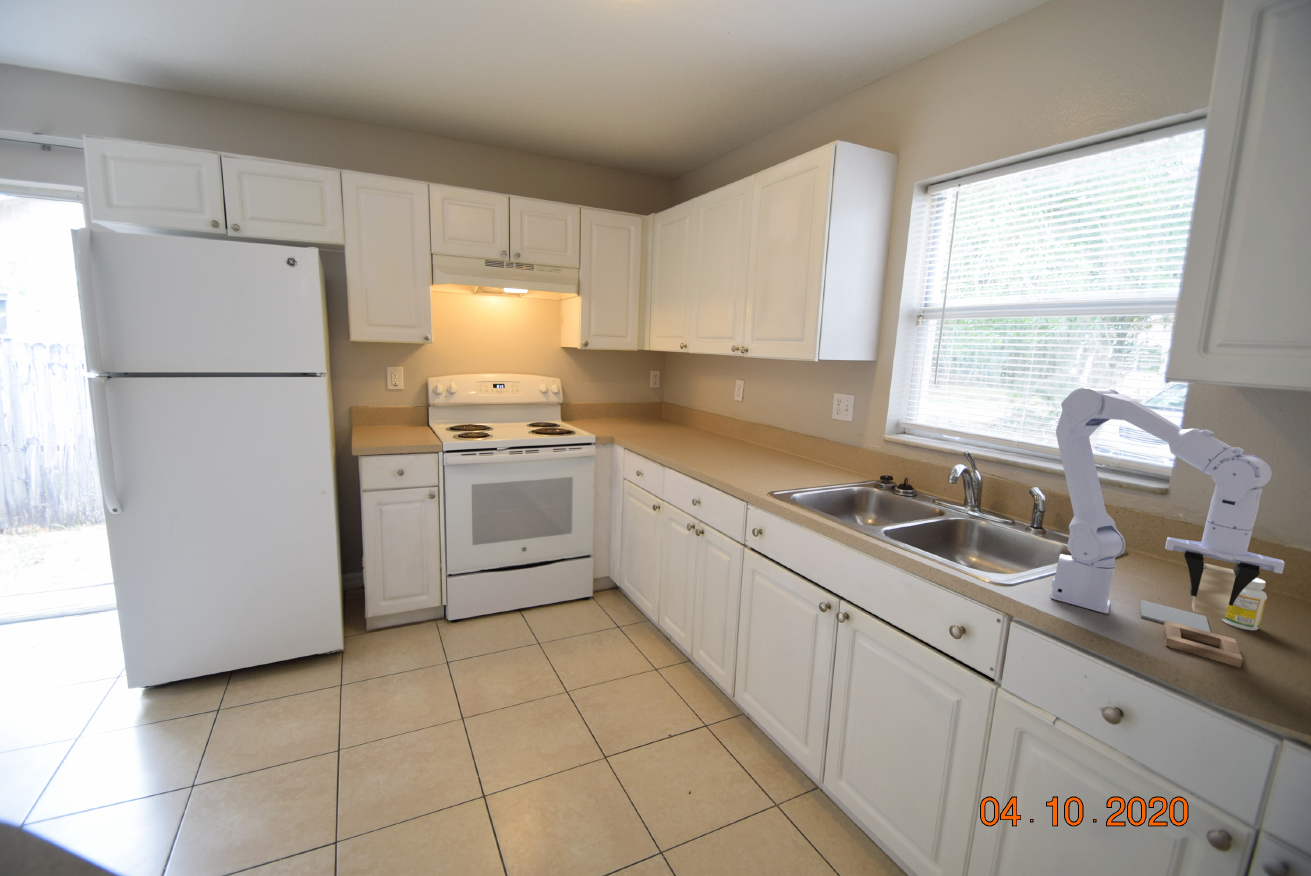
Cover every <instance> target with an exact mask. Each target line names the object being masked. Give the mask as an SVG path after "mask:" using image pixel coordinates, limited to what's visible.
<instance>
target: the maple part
mask: <svg viewBox="0 0 1311 876" xmlns="http://www.w3.org/2000/svg"><path fill="white" fill-rule="evenodd" d="M1235 577H1236V575H1235V573H1234V568H1232V569H1231V568H1228V567H1223V566H1219V565H1215V564H1214V565H1213V564H1210V563H1209V564H1208V563H1204V566H1203V569H1202V572H1201V575H1200V579H1199V585H1198V592H1197V595H1196V597H1195V596H1192V601H1191V608H1192V613H1196V614H1197V613H1198V614H1200V615H1204V616H1209V617H1213V618H1216V619H1221V620H1222V619H1224V620H1225V617H1226V613H1227V609H1228V605H1229V601H1230V597H1231V593H1232V589H1233V585H1234V581H1235Z"/></svg>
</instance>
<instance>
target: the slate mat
mask: <svg viewBox="0 0 1311 876" xmlns="http://www.w3.org/2000/svg"><path fill="white" fill-rule="evenodd" d="M1139 602H1140V605H1139V606H1140V618H1142V619H1145V620H1149V621H1153V622H1155V621H1156V623H1160V624H1163V625H1164V622H1165V620H1166V621H1170V622H1174V623H1177V624H1181V625H1185V626H1188V627H1192V628H1196V629H1199V630H1203V631H1207V632H1211V628H1210V626H1209V622H1208V619H1207V615H1204V614H1200V613H1198V614H1197V613H1196V612H1191V611H1187V610H1184V609H1183V610H1182V609H1178V608H1175V607H1171V606H1168V605H1163V604H1159V603H1155V602H1152V601H1149V600H1144V599H1140V601H1139Z"/></svg>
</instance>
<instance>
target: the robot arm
mask: <svg viewBox="0 0 1311 876" xmlns="http://www.w3.org/2000/svg"><path fill="white" fill-rule="evenodd" d="M1060 405H1061V409H1062V410H1061V414H1060V417H1059V420H1058V423H1057V426H1056V430H1055V435H1056V440H1057V445H1058V448H1059V454H1060V457H1061V461H1062V467H1063V472H1064V475H1065V476H1064V477H1065V481H1066V485H1067V490H1068V494H1069V498H1070V504H1071V507H1072V512H1073V517H1072V519H1071V521H1070V523H1069V525H1068V529H1069V537H1068V541H1067V549H1068V551H1069V553H1070V554H1071V555H1070V554H1064V553H1061V554H1059V557H1058V562H1057V565H1056V571H1055V575H1054V578H1052V582H1051V587H1052V590H1051V596H1050V599H1052V600H1056V601H1058V602H1059V601H1060V602H1062V603H1066V604H1071V605H1074V606H1078V607H1080V608H1084V609H1089V610H1092V611H1095V612H1099V613H1102V614H1107V615H1108V614H1109V612H1110V603H1111V600H1110V598H1109V597H1110V594H1111V592H1110V591H1111V588H1112V583H1113V579H1114V578H1113V577H1114V574H1115V569H1116V564H1117V563H1116V557H1119V556H1121V555H1122V554H1123V553H1124V551H1125V549H1126V540H1125V538H1124V536H1123V534H1121V533H1120V531H1119V530H1118V528H1117V525H1116V521H1115V520H1114V519H1113V518H1112V516H1110V515H1109V514H1108V513H1107V509H1106V506H1105V501H1104V497H1103V492H1102V488H1101V484H1100V483H1101V482H1100V479H1099V475H1098V471H1097V466H1096V462H1095V459H1094V453H1093V449H1092V444H1091V441H1090V437H1091V436H1092V434H1094V433H1095V431H1097V430H1098V428H1099V427H1100V426H1101V425H1103V424H1105V423H1106V422H1108V421H1110V420H1115V421H1116V420H1119V421H1126V422H1127V423H1129V424H1131V425H1133V426H1135V427H1137V428H1139V429H1140V430H1142V431H1144V432H1146V433H1148V434H1150V435H1152V436H1154V437H1156V438H1157V439H1160V440H1161V441H1164V442H1165V443H1167V444H1168V446H1169V451H1170V453H1171V454H1172V455H1173V456H1175V457H1177V458H1179V459H1180V460H1182V461H1184V462H1186V463H1187V464H1188V465H1190V466H1192V467H1194V468H1196V469H1197V470H1199V471H1201V472H1202V473H1204V474H1205V475H1208V476H1210V475H1211V476H1210V477H1211V479H1212V481H1213V482H1214V484H1215V487H1214V490H1213V494H1212V497H1211V501H1210V504H1209V505H1210V506H1209V508H1208V509H1209V510H1208V512H1207V518H1206V520H1205V524H1204V525H1205V526H1204V529H1203V534H1202V538H1201V541H1196V540H1191V539H1190V540H1188V539H1181V538H1176V537H1169V536H1167V538H1166V541H1165V550H1168V551H1176V552H1181V553H1183V556H1184V560H1185V562H1186V565H1187V569H1188V575H1189V579H1190V581H1189V582H1190V590H1189V593H1190V596H1191V597H1193V596H1195V597H1196V595H1197V592H1198V585H1199V579H1200V575H1201V572H1202V569H1203V566H1204V558H1210V559H1214V560H1218V561H1219V560H1220V561H1224V562H1229V563H1232V564H1234V567H1233V571H1234V573H1235V575H1236V577H1235V581H1234V585H1233V589H1232V593H1231V597H1230V601H1229V605H1232V606H1233V604H1234V602H1235V600H1236V598H1237V597H1238V595H1239V594H1240V593H1241V591H1242V590H1243V589H1244V588H1245V587H1246V586H1247V585H1248V584H1249V583H1250V582H1252V581H1253V580H1254V579H1256V578H1259V576H1260V572H1261V571H1260V569H1261V570H1267V571H1272V573H1275V574H1281V575H1282V574H1283V572H1284V569H1285V564H1286V563H1285V561H1284V560H1283V559H1279V558H1275V557H1270V556H1266V555H1262V554H1258V553H1254V552H1250V551H1248V549H1249V546H1250V541H1251V537H1252V533H1253V530H1254V525H1255V523H1256V519H1257V514H1258V512H1259V508H1260V507H1259V506H1260V499H1261V495H1262V492H1263V488H1262V487H1264V486H1266V485H1267V484H1268V483H1269V482H1270V481H1271V479H1272V476H1273V471H1272V468H1271V465H1269V464H1268V463H1267V462H1266V461H1265V460H1263V459H1262V458H1261V457H1260V456H1258V455H1255V454H1243V453H1244V451H1245V450H1244V449H1242V448H1241V447H1238V446H1235V447H1233V446H1232V445H1229V444H1227V443H1225V442H1224V441H1221V440H1219V439H1218V438H1216V437H1215V436H1214V434H1215V432H1213V431H1211V430H1209V429H1208V428H1207V429H1202V430H1201V429H1199V428H1187V429H1183V428H1182V427H1180V426H1178V425H1177V424H1175V423H1174V422H1172V421H1170V420H1169V419H1167V418H1166V417H1164V416H1162V415H1161V414H1159V413H1157V412H1155V411H1154V410H1152V409H1150V408H1148V406H1145V405H1143V404H1142V403H1140V402H1139V401H1137V400H1135V399H1134V398H1132V397H1130V396H1128V395H1126V394H1121V393H1119V391H1117V390H1115V389H1112V388H1089V387H1080V388H1076V389H1074V390H1073V391H1071V393H1069V395H1067V397H1065V399H1063V401H1062V402H1061V404H1060Z"/></svg>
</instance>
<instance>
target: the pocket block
mask: <svg viewBox="0 0 1311 876" xmlns="http://www.w3.org/2000/svg"><path fill="white" fill-rule="evenodd" d="M1162 629H1163V637H1164V639H1163V640H1164V644H1165V645H1166V646H1165V645H1164V646H1165V647H1167V646H1169V647H1168V648H1171V649H1174V648H1175V649H1174V650H1178V649H1180V650H1179V651H1181V650H1182V652H1184V651H1185V653H1188V652H1190V653H1189V654H1191V653H1194V654H1193V655H1195V654H1196V656H1198V655H1199V657H1202V656H1203V657H1202V658H1205V657H1207V658H1206V659H1208V658H1209V660H1212V661H1215V660H1216V661H1215V662H1220V663H1223V664H1227V665H1230V666H1232V667H1236V668H1241V667H1242V664H1243V657H1242V654H1241V652H1240V649H1239V647H1238V644H1237V641H1236V638H1232V637H1229V636H1226V635H1225V636H1224V635H1222V634H1217V633H1215V632H1211V631H1210V632H1207V631H1203V630H1199V629H1196V628H1192V627H1188V626H1185V625H1181V624H1177V623H1174V622H1170V621H1166V620H1165V622H1164V624H1163V627H1162ZM1182 637H1183V638H1182ZM1185 638H1187V639H1185ZM1190 638H1191V639H1190ZM1189 639H1190V640H1189ZM1193 639H1194V640H1193ZM1195 641H1197V642H1195ZM1199 642H1201V643H1199ZM1203 643H1205V644H1203ZM1206 644H1208V645H1206ZM1210 645H1212V646H1210Z"/></svg>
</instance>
